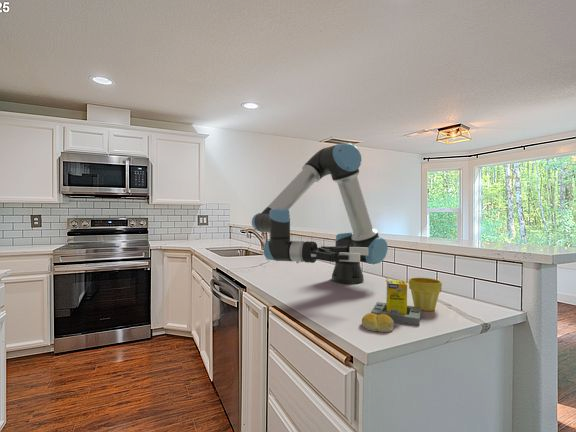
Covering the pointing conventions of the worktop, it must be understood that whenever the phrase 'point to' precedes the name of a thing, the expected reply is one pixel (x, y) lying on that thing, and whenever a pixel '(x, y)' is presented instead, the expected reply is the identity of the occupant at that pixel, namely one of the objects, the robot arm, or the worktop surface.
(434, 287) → the plant pot
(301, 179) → the robot arm
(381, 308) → the socket plate
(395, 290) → the supplement box
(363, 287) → the worktop surface
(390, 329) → the bread roll
